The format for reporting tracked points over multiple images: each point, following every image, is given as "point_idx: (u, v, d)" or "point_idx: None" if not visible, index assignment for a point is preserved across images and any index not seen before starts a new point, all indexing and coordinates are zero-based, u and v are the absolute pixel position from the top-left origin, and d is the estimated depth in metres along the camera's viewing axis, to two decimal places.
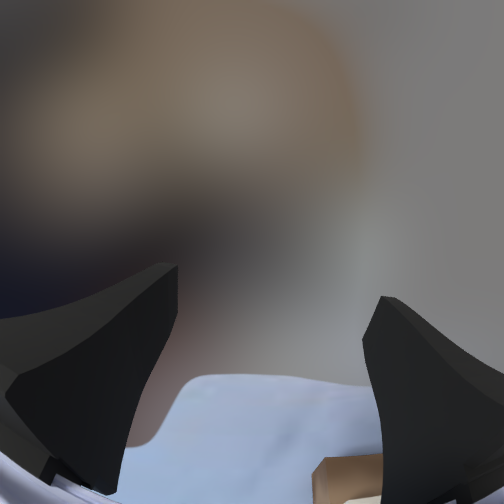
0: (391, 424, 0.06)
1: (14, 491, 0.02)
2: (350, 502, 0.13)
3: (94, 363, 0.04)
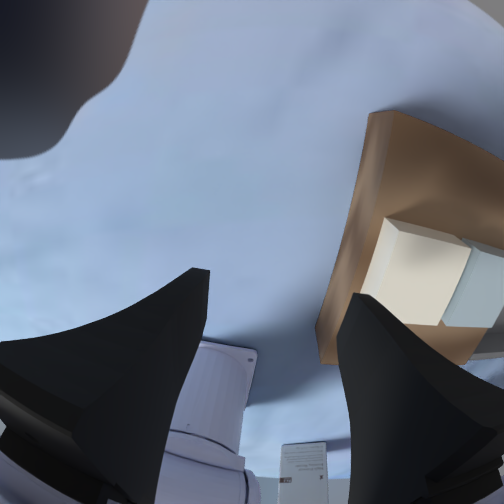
0: (359, 426, 0.06)
1: (14, 491, 0.02)
2: (400, 236, 0.12)
3: (146, 380, 0.04)
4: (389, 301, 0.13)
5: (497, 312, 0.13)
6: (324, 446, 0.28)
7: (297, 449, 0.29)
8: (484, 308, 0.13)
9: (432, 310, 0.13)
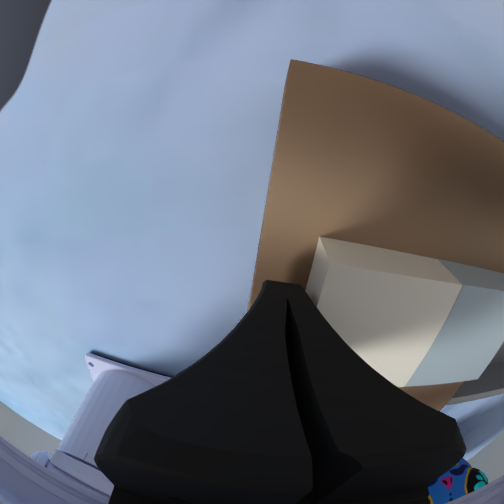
0: None
1: (14, 490, 0.02)
2: (332, 272, 0.07)
3: None
4: None
5: (487, 361, 0.09)
6: None
7: None
8: (467, 359, 0.09)
9: (396, 370, 0.09)
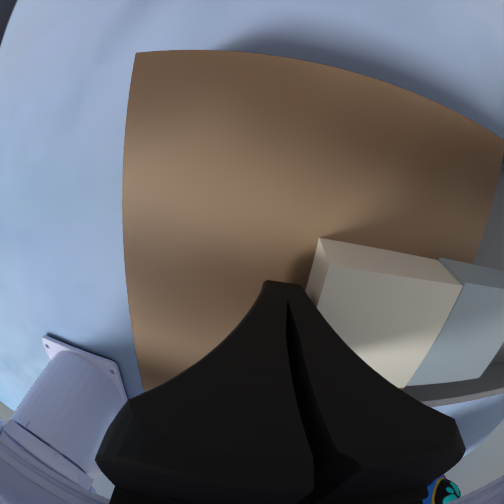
0: None
1: (14, 490, 0.02)
2: (332, 274, 0.07)
3: None
4: None
5: (488, 359, 0.09)
6: None
7: None
8: (469, 358, 0.09)
9: (396, 371, 0.09)
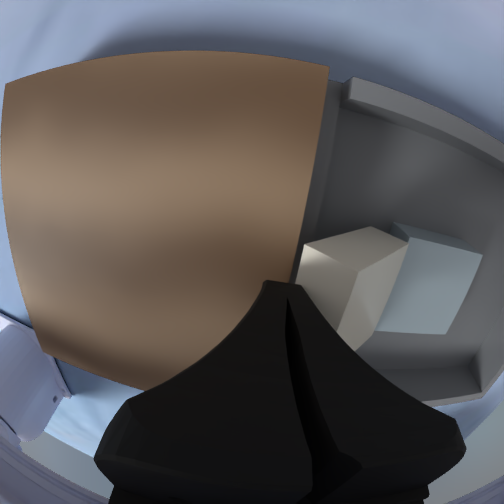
0: None
1: (14, 491, 0.02)
2: (358, 278, 0.08)
3: None
4: None
5: None
6: None
7: None
8: None
9: (370, 326, 0.12)
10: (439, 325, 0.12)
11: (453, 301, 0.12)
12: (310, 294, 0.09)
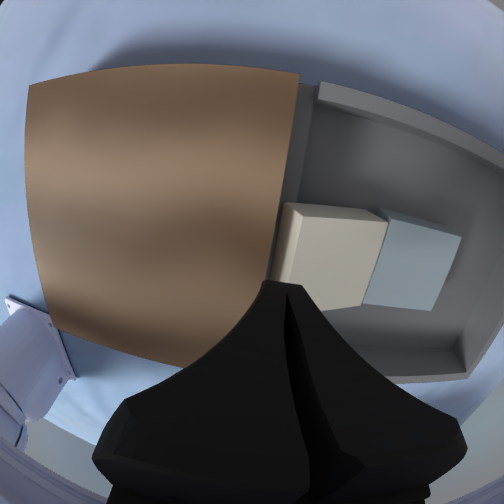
0: None
1: (14, 491, 0.02)
2: (305, 222, 0.11)
3: None
4: None
5: None
6: None
7: None
8: None
9: (352, 291, 0.14)
10: (424, 301, 0.14)
11: (436, 279, 0.14)
12: (284, 237, 0.13)
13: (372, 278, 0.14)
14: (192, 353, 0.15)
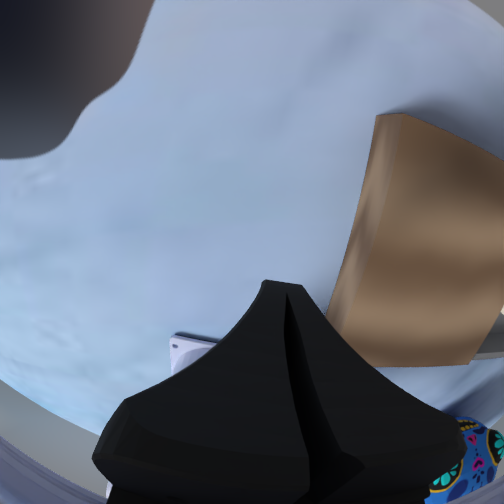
0: None
1: (14, 491, 0.02)
2: None
3: None
4: None
5: None
6: None
7: None
8: None
9: None
10: None
11: None
12: None
13: None
14: (453, 352, 0.17)
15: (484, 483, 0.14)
